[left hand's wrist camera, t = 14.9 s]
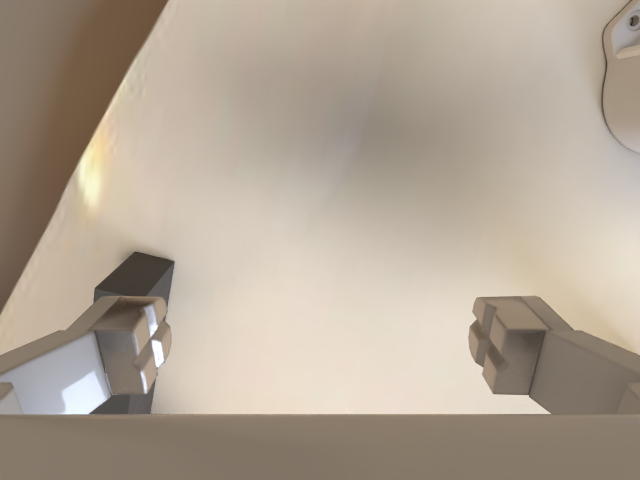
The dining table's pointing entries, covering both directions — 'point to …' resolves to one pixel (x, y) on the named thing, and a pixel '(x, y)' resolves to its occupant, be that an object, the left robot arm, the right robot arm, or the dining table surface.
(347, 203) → the dining table surface
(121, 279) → the bar
